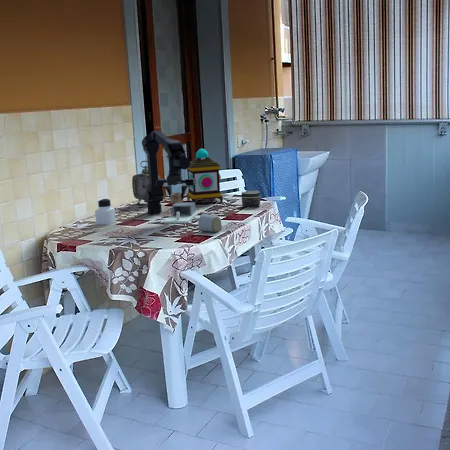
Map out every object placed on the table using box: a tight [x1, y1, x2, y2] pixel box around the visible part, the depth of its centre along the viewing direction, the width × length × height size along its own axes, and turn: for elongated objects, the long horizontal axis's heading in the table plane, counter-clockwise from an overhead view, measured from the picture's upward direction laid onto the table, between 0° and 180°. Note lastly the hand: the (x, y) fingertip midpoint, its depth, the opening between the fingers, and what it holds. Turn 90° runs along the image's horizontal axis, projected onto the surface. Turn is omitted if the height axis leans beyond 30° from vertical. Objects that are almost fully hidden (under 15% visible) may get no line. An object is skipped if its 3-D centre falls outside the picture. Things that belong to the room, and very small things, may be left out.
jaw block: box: [169, 192, 184, 204], centre depth 292 cm, size 5×5×4 cm
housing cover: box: [171, 201, 197, 216], centre depth 305 cm, size 10×9×5 cm
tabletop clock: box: [131, 160, 161, 205], centre depth 341 cm, size 14×9×25 cm, turn 58°
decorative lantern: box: [186, 148, 224, 203], centre depth 342 cm, size 20×20×30 cm
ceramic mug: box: [197, 213, 223, 233], centre depth 270 cm, size 11×8×8 cm
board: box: [163, 211, 199, 225], centre depth 299 cm, size 12×22×4 cm, turn 170°
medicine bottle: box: [94, 198, 116, 226], centre depth 296 cm, size 7×7×12 cm
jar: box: [240, 190, 261, 209], centre depth 322 cm, size 10×10×8 cm
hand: (177, 199), depth 292 cm, fingers closed on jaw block, 5 cm apart
